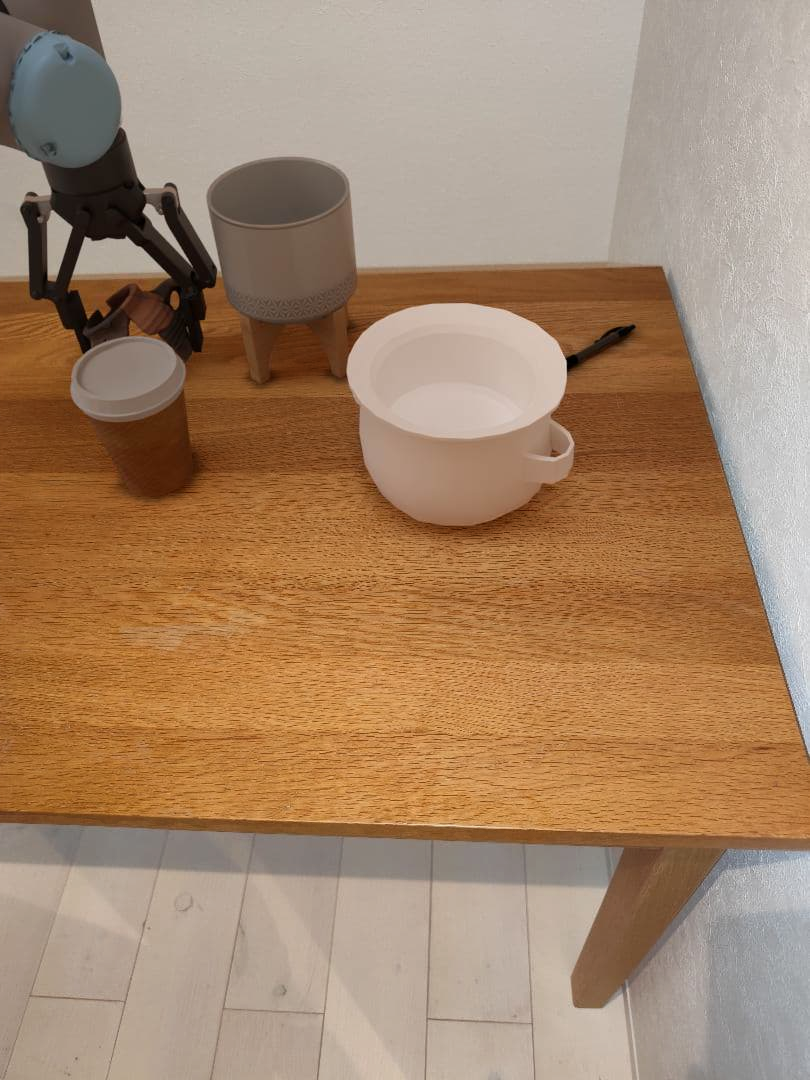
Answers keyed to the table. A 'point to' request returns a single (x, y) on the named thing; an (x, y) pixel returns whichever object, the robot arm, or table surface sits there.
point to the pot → (459, 411)
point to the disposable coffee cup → (137, 410)
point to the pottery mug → (142, 317)
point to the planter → (286, 253)
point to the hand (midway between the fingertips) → (145, 348)
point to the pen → (600, 344)
